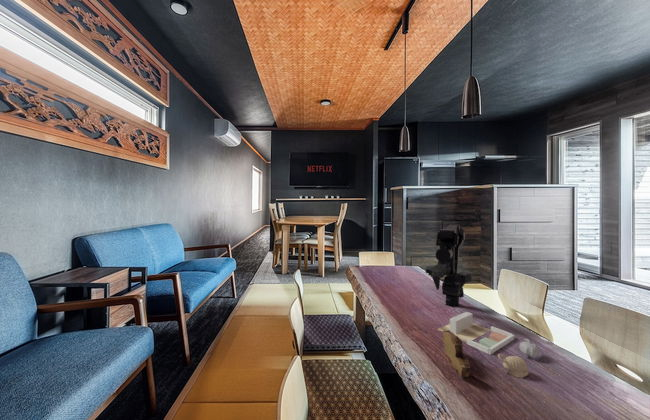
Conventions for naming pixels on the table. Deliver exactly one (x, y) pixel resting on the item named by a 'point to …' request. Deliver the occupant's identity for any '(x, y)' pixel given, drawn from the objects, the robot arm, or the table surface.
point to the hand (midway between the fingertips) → (447, 292)
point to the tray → (496, 346)
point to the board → (468, 332)
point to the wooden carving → (456, 353)
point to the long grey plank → (461, 322)
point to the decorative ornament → (515, 365)
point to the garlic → (529, 349)
